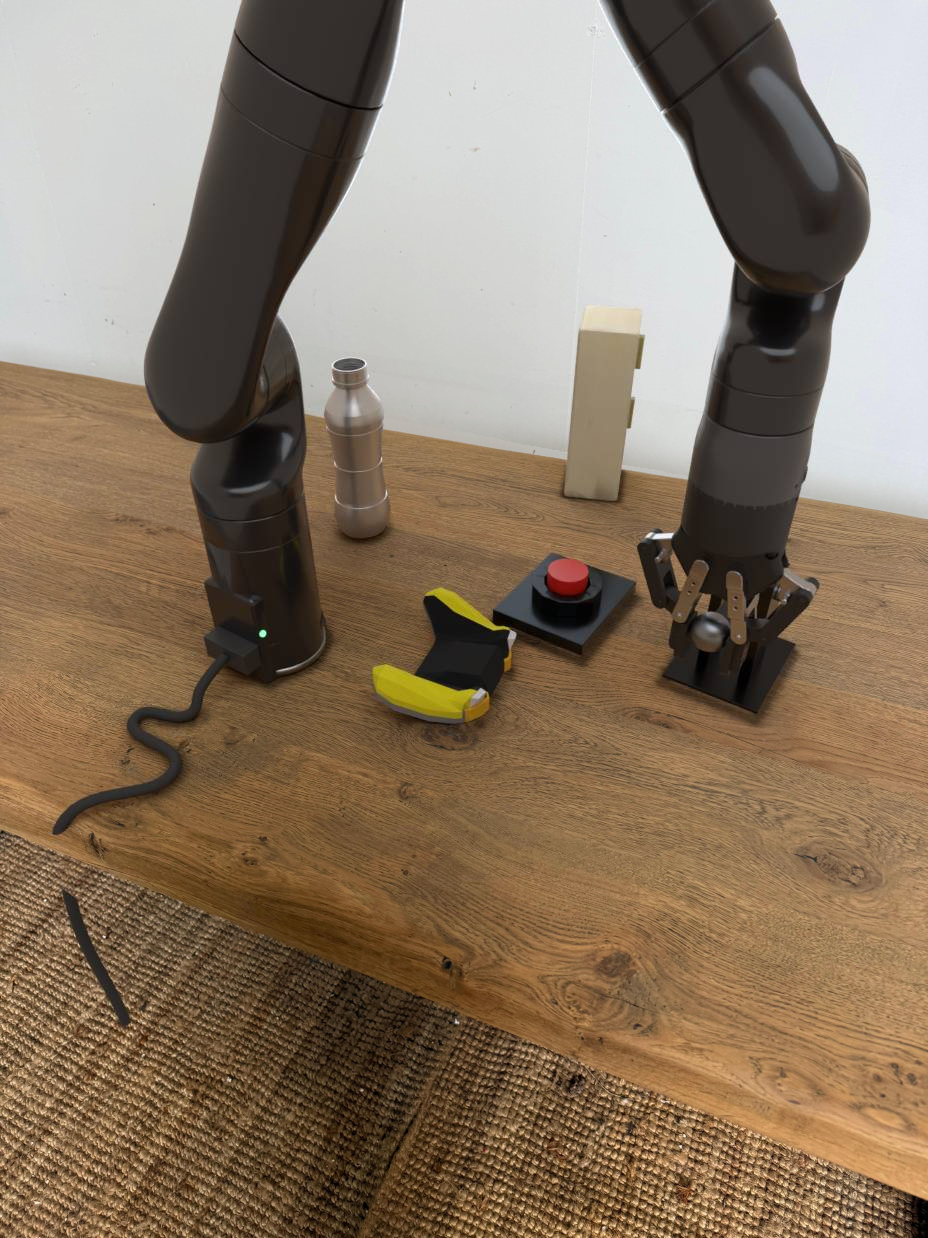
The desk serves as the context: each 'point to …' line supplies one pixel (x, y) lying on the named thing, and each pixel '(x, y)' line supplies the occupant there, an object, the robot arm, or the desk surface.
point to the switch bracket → (754, 673)
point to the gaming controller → (450, 665)
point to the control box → (564, 607)
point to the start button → (567, 576)
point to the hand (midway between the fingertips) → (704, 660)
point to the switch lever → (711, 629)
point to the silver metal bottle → (357, 450)
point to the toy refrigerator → (602, 400)
